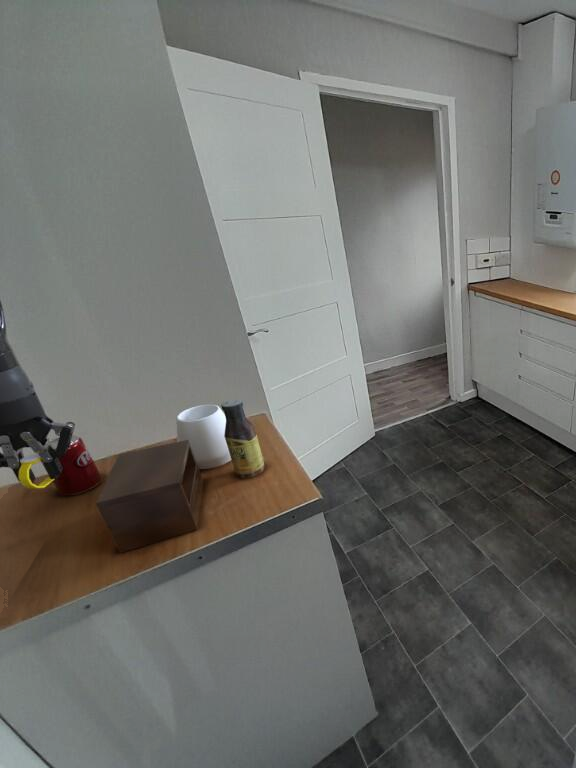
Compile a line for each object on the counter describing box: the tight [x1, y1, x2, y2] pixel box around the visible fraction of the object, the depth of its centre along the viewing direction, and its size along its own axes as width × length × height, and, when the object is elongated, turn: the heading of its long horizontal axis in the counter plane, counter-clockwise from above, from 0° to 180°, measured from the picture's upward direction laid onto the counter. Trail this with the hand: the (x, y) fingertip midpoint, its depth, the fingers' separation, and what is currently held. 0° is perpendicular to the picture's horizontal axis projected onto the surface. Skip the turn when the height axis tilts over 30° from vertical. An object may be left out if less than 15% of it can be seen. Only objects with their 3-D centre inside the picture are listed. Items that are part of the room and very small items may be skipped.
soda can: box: [40, 434, 103, 496], centre depth 93 cm, size 7×7×12 cm
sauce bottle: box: [220, 398, 266, 479], centre depth 97 cm, size 7×6×20 cm
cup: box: [176, 404, 232, 470], centre depth 103 cm, size 13×13×14 cm
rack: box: [95, 440, 204, 554], centre depth 85 cm, size 12×18×12 cm, turn 31°
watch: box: [19, 452, 54, 490], centre depth 74 cm, size 6×3×6 cm, turn 8°
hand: (43, 478), depth 75 cm, fingers closed on watch, 2 cm apart
